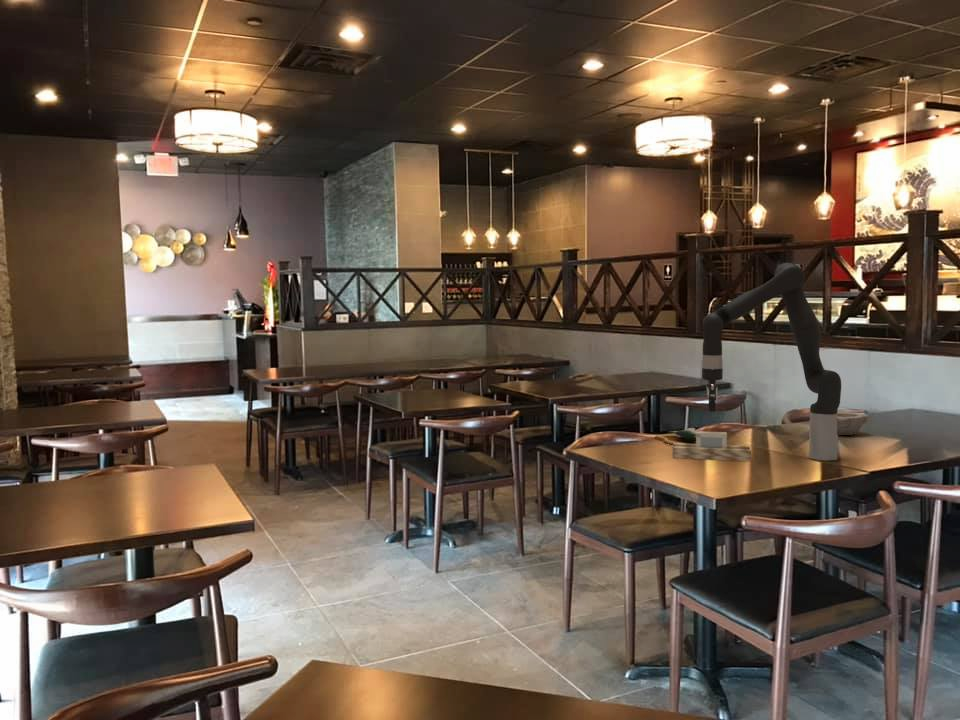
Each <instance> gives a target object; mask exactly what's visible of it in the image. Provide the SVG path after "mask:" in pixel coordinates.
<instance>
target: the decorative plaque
mask: <svg viewBox="0 0 960 720" xmlns="http://www.w3.org/2000/svg"><path fill="white" fill-rule="evenodd" d="M696 431H697V430H696V428H694V427H689V428H686V429H683V430H682V429H681V430H672V431H671V430H668V431H667V432H666V434H659V435H655V436H654V440H657V441H660V442H662V441H664V442H663V444H664V443H665V444H664V445H666V444H669V445H673V443H685V444H696ZM669 445H668V446H669Z"/></svg>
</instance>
